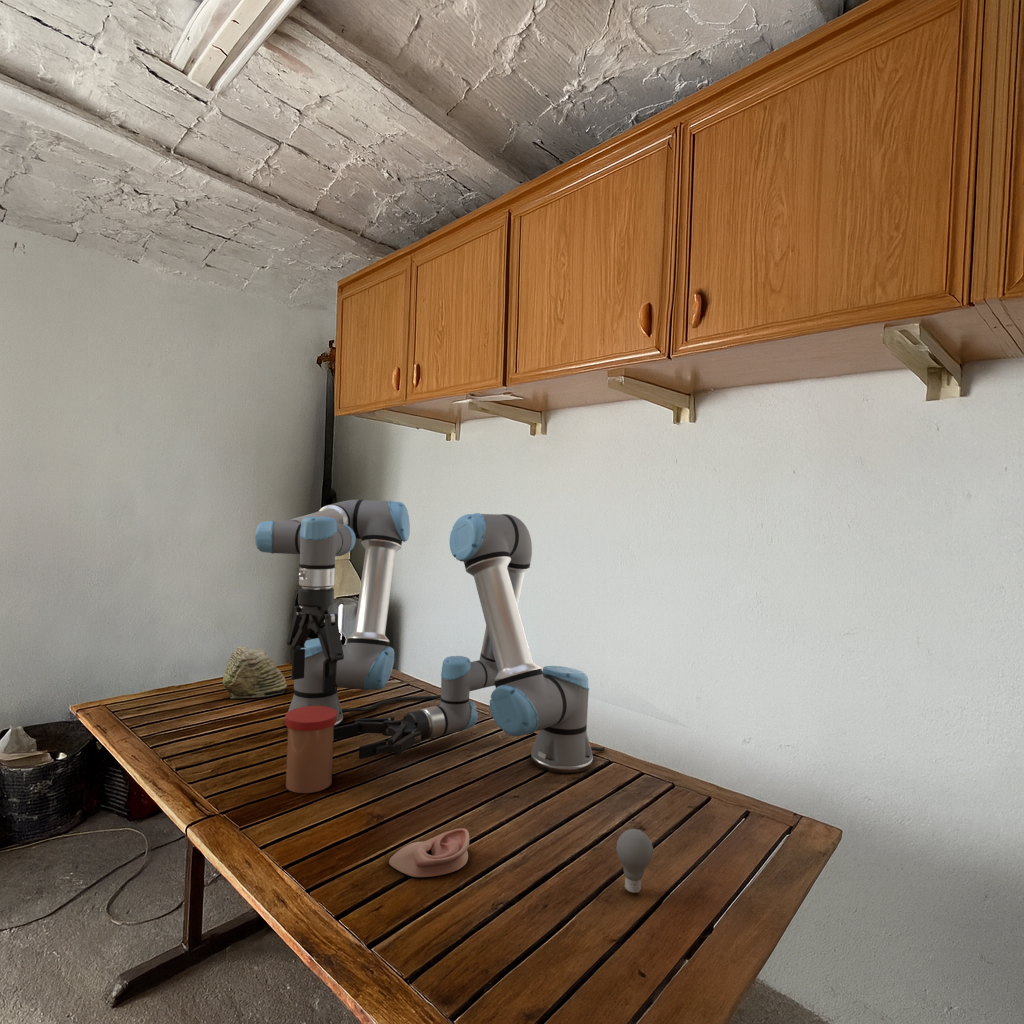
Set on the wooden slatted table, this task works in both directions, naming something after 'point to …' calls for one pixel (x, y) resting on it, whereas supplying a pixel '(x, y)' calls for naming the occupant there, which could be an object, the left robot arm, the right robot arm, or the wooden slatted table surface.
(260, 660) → the fossil
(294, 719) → the lid
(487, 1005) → the wooden slatted table surface
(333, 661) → the left robot arm
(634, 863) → the light bulb
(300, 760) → the jar
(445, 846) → the anatomical model
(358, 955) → the wooden slatted table surface
